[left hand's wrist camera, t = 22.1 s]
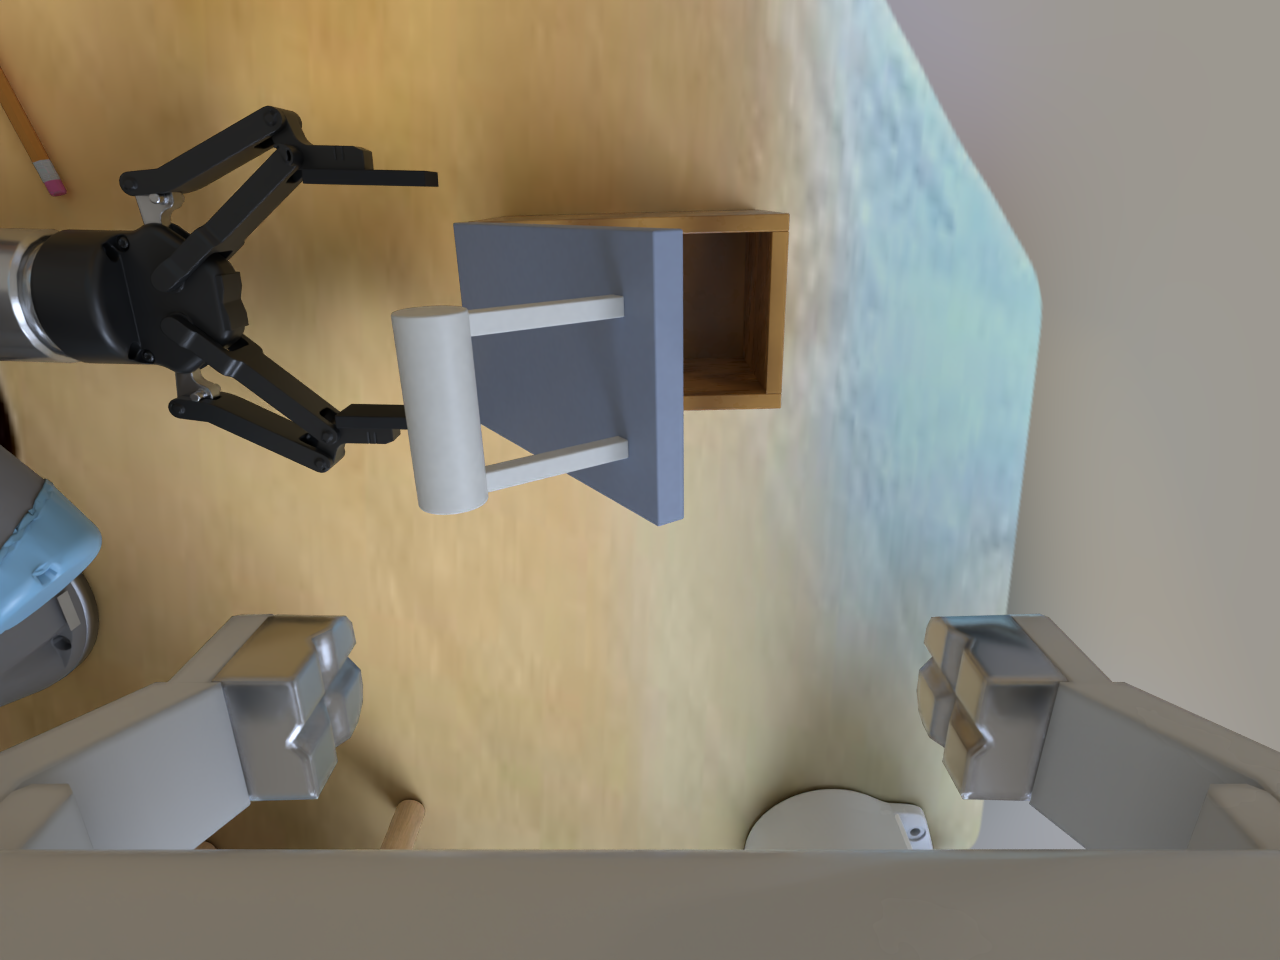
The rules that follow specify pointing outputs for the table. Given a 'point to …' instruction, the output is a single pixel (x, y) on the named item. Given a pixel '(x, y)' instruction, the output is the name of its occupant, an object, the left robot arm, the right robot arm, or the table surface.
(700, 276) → the chest
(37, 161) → the pencil
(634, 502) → the lid
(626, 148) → the table surface
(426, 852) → the left robot arm
